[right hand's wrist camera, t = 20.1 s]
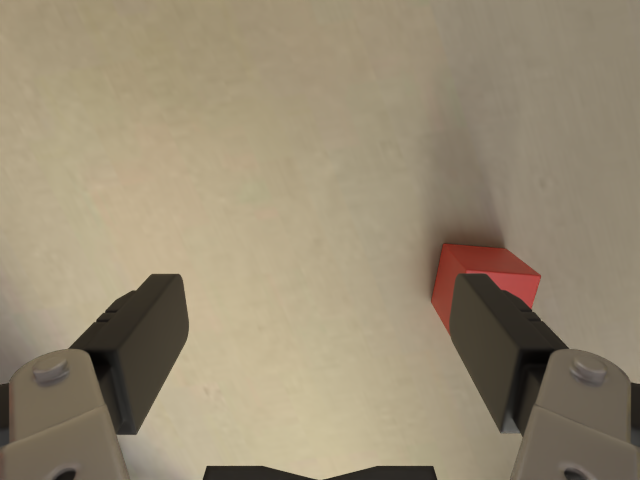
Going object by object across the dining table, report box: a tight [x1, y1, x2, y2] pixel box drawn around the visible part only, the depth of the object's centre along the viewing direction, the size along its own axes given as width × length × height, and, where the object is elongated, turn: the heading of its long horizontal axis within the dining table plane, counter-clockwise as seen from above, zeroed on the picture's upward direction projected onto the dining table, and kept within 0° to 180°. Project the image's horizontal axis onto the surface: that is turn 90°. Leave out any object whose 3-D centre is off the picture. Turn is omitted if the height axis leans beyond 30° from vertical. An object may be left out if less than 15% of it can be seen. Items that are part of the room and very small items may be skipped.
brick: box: [431, 244, 541, 335], centre depth 24 cm, size 4×4×4 cm
